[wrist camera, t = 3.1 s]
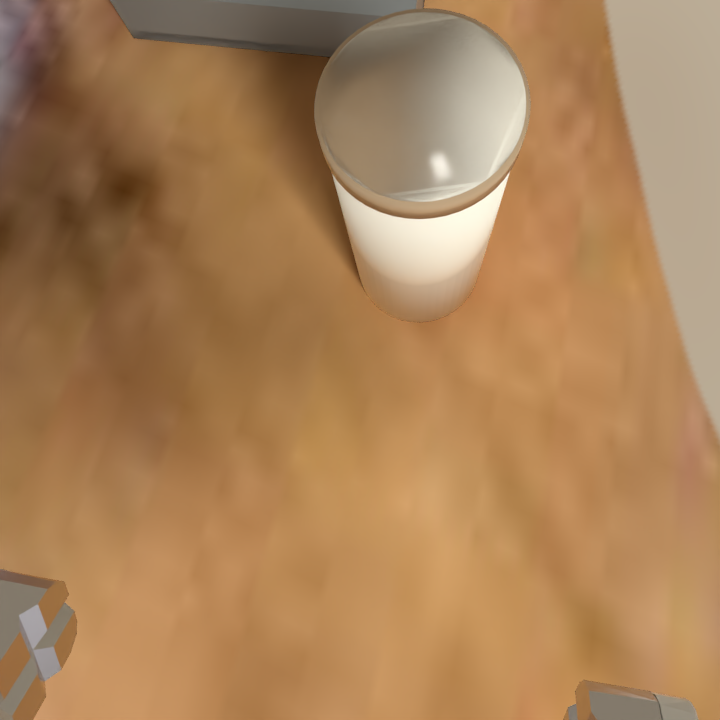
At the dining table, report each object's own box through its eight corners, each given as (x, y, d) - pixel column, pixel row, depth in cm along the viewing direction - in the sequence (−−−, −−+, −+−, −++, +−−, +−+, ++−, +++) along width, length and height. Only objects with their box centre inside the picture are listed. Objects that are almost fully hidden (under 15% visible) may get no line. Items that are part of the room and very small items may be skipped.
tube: (346, 315, 28) (297, 192, 16) (366, 198, 29) (332, -1, 17) (473, 332, 27) (516, 218, 16) (489, 212, 28) (542, 18, 16)
